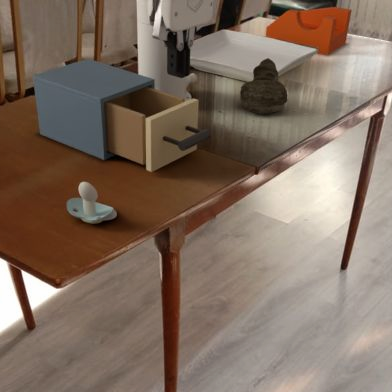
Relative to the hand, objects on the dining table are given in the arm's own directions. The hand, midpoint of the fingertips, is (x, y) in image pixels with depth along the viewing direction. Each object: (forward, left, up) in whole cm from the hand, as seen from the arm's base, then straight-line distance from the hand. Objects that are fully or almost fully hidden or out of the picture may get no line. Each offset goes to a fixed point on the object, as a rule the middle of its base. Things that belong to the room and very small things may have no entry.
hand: (178, 74), depth 96 cm
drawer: (-2, -7, -15) cm, 17 cm away
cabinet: (-2, -21, -16) cm, 26 cm away
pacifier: (+20, 0, -16) cm, 26 cm away
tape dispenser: (-84, -24, -16) cm, 89 cm away
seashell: (-34, -6, -16) cm, 38 cm away
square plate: (-56, -25, -16) cm, 64 cm away
